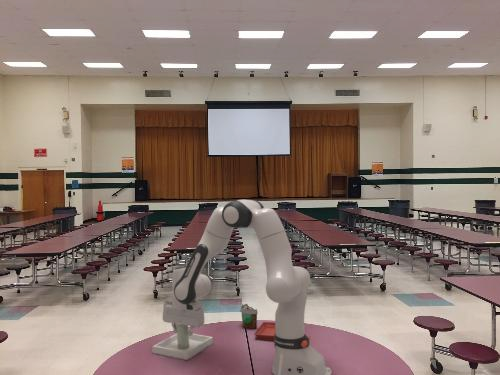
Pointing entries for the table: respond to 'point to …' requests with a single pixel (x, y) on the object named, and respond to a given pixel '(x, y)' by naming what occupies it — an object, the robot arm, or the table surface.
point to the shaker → (182, 335)
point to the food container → (249, 317)
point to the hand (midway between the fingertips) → (183, 334)
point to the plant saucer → (266, 331)
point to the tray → (195, 346)
